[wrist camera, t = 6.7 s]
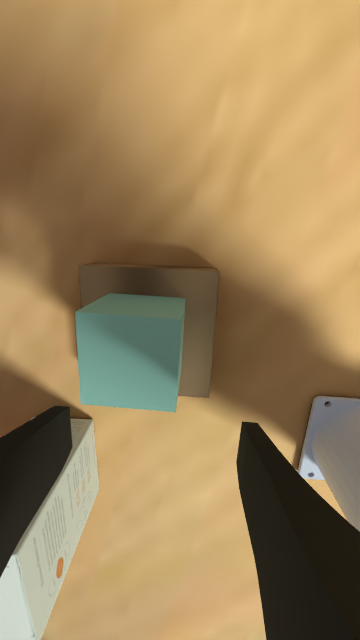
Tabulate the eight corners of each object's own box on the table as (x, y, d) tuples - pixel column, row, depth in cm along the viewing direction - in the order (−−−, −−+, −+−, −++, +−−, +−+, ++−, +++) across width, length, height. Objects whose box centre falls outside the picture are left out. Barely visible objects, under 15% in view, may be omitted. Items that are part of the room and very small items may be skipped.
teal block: (185, 298, 17) (180, 319, 12) (181, 368, 18) (175, 412, 13) (109, 293, 17) (74, 311, 12) (111, 362, 18) (80, 404, 14)
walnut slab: (215, 267, 19) (219, 271, 16) (207, 377, 22) (209, 398, 19) (95, 262, 20) (78, 265, 17) (101, 370, 22) (86, 389, 19)
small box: (33, 413, 23) (-93, 545, 13) (95, 417, 23) (15, 554, 13) (44, 484, 25) (-56, 642, 15) (101, 488, 25) (36, 652, 15)
